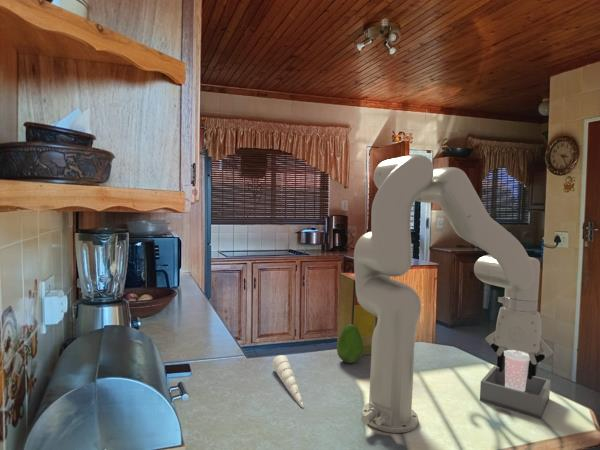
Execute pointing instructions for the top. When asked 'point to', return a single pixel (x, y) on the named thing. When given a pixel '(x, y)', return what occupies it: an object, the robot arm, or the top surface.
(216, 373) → the top surface
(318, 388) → the top surface
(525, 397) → the bin
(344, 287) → the food packaging
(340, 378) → the top surface
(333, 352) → the top surface
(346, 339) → the avocado
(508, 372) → the beverage cup
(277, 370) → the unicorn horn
